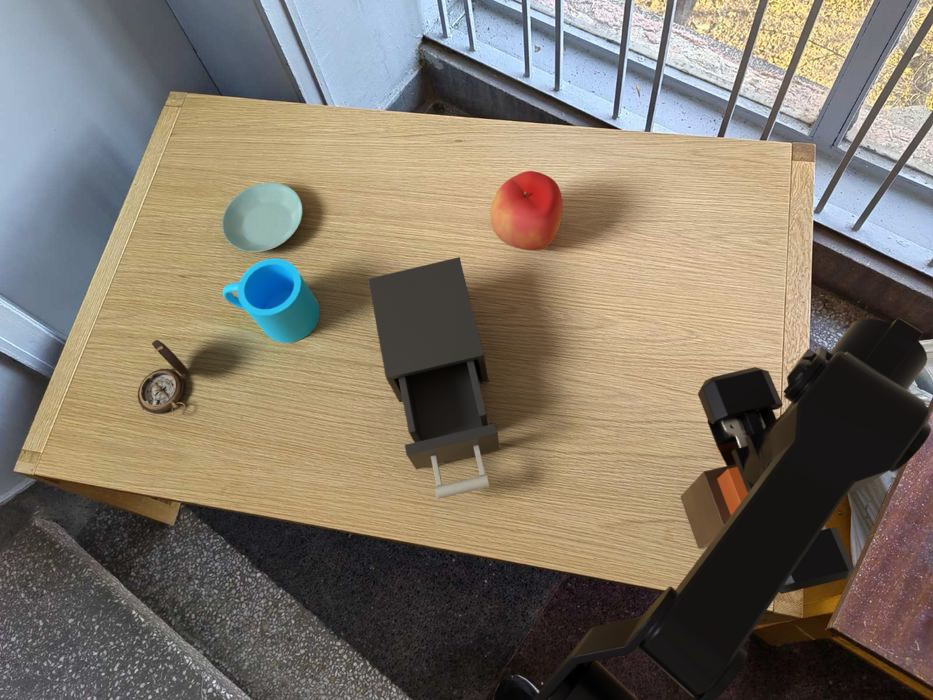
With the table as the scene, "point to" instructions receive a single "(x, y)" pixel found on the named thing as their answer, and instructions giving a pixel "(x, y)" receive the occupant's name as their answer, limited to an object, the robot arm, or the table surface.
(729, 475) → the block
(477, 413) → the pull-out drawer
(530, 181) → the apple
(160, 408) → the compass
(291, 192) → the saucer
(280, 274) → the mug
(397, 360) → the drawer cabinet
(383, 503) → the table surface
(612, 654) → the robot arm
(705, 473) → the stand
